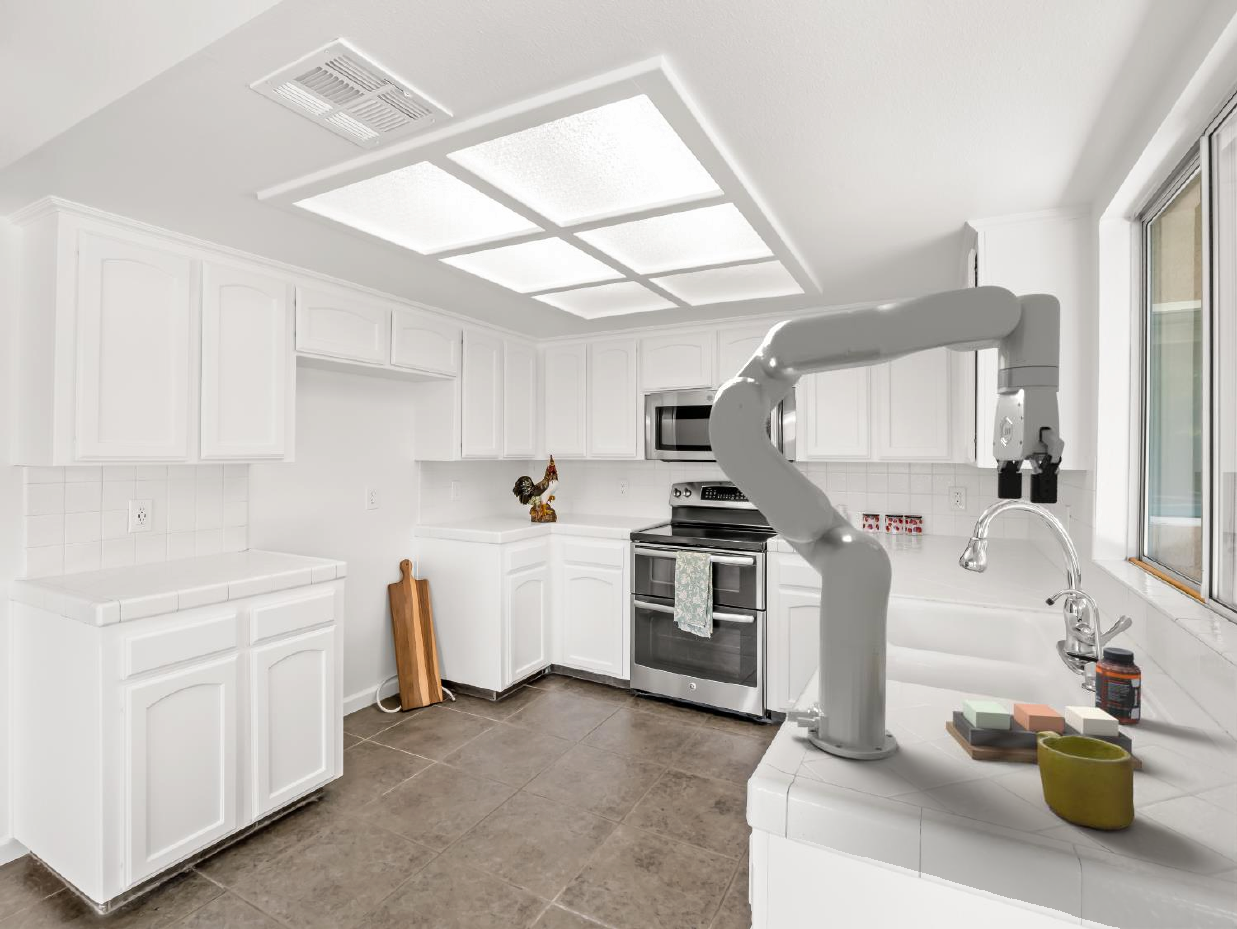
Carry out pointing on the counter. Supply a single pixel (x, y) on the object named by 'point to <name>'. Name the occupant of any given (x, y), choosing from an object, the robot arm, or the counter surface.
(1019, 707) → the key terracotta
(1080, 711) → the key cream
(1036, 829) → the counter surface
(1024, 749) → the key panel
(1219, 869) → the counter surface
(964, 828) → the counter surface
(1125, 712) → the supplement bottle
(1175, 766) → the counter surface
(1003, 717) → the key sage
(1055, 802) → the mug
